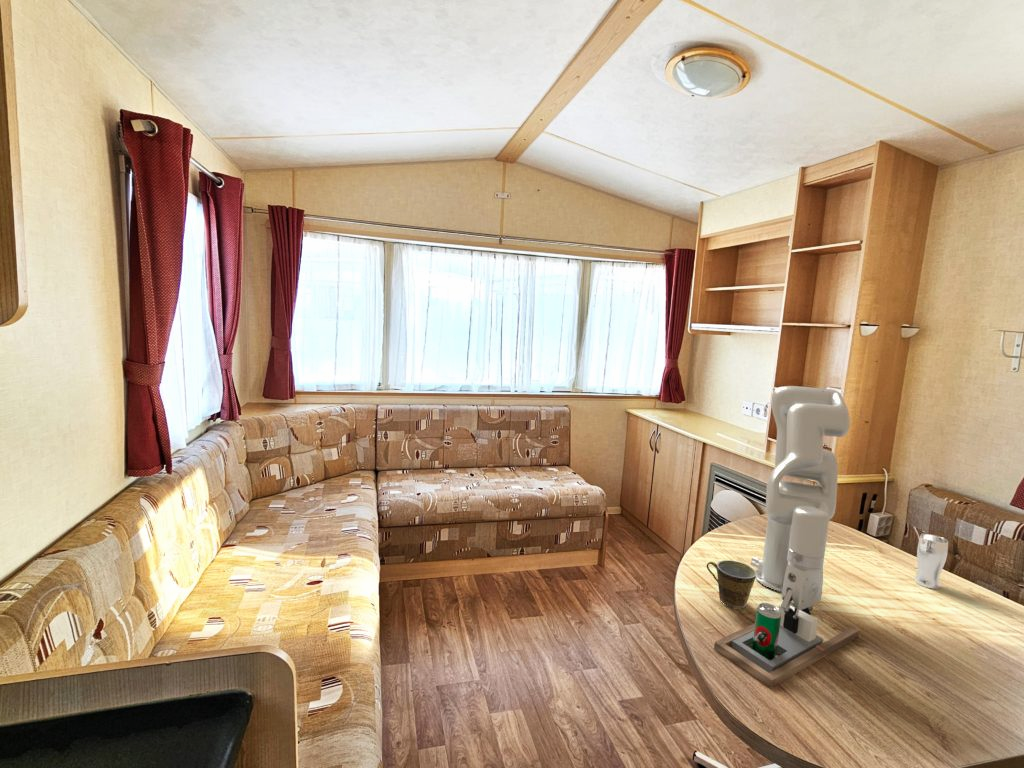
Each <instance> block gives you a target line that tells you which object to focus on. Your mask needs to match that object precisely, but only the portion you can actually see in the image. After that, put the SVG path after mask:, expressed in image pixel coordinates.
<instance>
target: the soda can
mask: <svg viewBox="0 0 1024 768" xmlns="http://www.w3.org/2000/svg"><path fill="white" fill-rule="evenodd" d="M778 608H779V607H777V606H776V605H774V604H771V603H767V602H761V603H759V604H758V606H757V607H756V613H755V618H754V620H755V621H754V623H755V628H754V636H753V645H751V646H752V647H751V649H753V650H754V651H756V652H757V653H759V654H760V655H762V656H764V657H765V658H767V659H768V660H770V661H771V660H772V659H774V658H776V657H777V654H778V653H777V645H778V637H779V629H780V621H781V614H780V610H779V609H778Z"/></svg>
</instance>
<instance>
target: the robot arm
mask: <svg viewBox="0 0 1024 768" xmlns="http://www.w3.org/2000/svg"><path fill="white" fill-rule="evenodd" d="M771 411H772V415H773V418H774V423H775V426H776V443H775V457H774V458H775V459H774V460H775V461H774V462H775V463H774V465H775V467H774V468H773V469H772V471H771V473H770V474H769V476H768V479H767V481H766V482H767V483H766V496H765V513H766V515H767V518H766V519H767V521H766V529H765V530H766V531H765V538H764V545H763V554H762V559H760V558H759V557H757V556H752V558H751V562H750V565H751V566H753V567H755V568H757V570H755V572H756V578H755V580H756V579H757V580H758V581H759V582H760V583H761V584H760V583H759V582H758V581H757V580H756V581H757V582H758V583H759V584H760V585H762V584H763V585H764V586H763V585H762V586H763V587H765V586H766V587H765V588H767V587H769V588H771V589H770V590H772V589H774V590H773V591H775V590H777V591H776V592H778V591H781V592H780V593H781V600H782V602H781V604H780V605H781V608H782V609H783V610H784V613H785V615H784V623H783V627H784V628H785V629H787V630H789V631H791V632H792V633H794V634H796V633H797V631H798V623H799V618H797V617H798V613H799V610H801V611H803V612H805V613H807V614H809V615H811V616H812V612H813V610H814V607H813V606H814V605H816V604H818V603H820V601H821V600H822V595H823V594H822V593H823V585H824V584H823V583H824V560H825V554H826V548H827V547H826V546H827V539H828V531H829V525H830V520H831V519H833V518H834V515H835V514H836V509H837V493H838V474H839V473H838V471H839V466H838V465H839V464H838V460H837V459H838V458H837V456H836V454H835V453H834V452H832V451H831V450H829V449H825V448H824V436H827V437H836V438H842V437H845V436H846V435H847V434H848V433H849V430H850V426H851V425H850V424H851V421H850V420H851V417H850V413H849V409H848V407H847V404H846V402H845V400H844V398H843V396H842V394H841V392H840V391H838V390H835V389H831V388H821V387H820V388H819V387H809V386H797V385H786V386H785V385H783V386H778V387H777V388H774V389H773V392H772V395H771ZM783 477H789V478H795V479H802V480H810V481H814V482H816V483H817V485H814V484H809V483H808V484H807V483H802V482H795V481H787V480H782V478H783ZM769 588H768V589H769ZM790 605H791V606H793V607H795V610H794V611H793V609H791V608H790Z"/></svg>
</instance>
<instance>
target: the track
mask: <svg viewBox="0 0 1024 768" xmlns="http://www.w3.org/2000/svg"><path fill="white" fill-rule="evenodd" d="M754 628H755V622H754V623H752V624H750V625H747V626H745V627H744V628H741V629H739V630H737V631H735V632H733V633H731V634H728V635H726V636H724V637H721V638H720V639H717V640H716V641H714V644H713V645H714V646H713V649H714V650H715V651H717V652H719V653H720V654H722V656H724V657H726V658H727V659H728V660H730V661H731V662H733V663H734V664H735V665H736V666H738V667H740V668H741V669H743V670H744V671H746V672H747V673H749V674H750V675H752V677H754V678H756V679H757V680H759V681H760V682H762V683H763V684H764V685H766V686H767V687H769V688H773V687H775V686H777V685H779V684H781V683H782V682H784V681H786V680H788V679H789V678H791V677H792V676H794V675H795V674H797V673H799V672H801V671H802V670H804V669H806V668H807V667H809V666H812V665H813V664H814V663H816V662H818V661H819V660H822V659H823V658H824V657H826V656H829V655H830V654H831V653H833V652H835V651H836V650H838V649H840V648H842V647H843V646H845V645H846V644H848V643H850V642H851V641H853V640H855V639H857V638H858V637H859V633H860V630H859V629H858V628H856V627H854V626H850V627H848V628H847V629H845V630H843V631H842V632H840V633H838V634H836V635H834V636H833V637H831V638H829V639H828V640H826V641H823V643H822V644H820V645H817V646H815V648H813V649H811V650H810V651H808V652H806V653H804V654H802V655H801V656H799V657H797V658H795V659H794V660H792V661H790V662H788V663H786V664H785V665H783V666H781V667H779V668H778V669H776V670H774V671H772V672H770V673H768V672H767V671H765V670H764V669H762V668H761V667H759V666H758V665H756V664H755V663H753V662H752V661H750V660H749V659H747V658H746V657H744V656H743V655H741V654H740V653H738V652H737V651H735V650H734V649H732V648H731V647H732V641H733V640H735V639H737V638H739V637H741V636H743V635H746V634H748V633H750V632H752V631H754Z"/></svg>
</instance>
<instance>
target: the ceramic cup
mask: <svg viewBox="0 0 1024 768" xmlns="http://www.w3.org/2000/svg"><path fill="white" fill-rule="evenodd" d="M709 565H712V566H713V567H714V568H715V569H716V574H717V577H716V575H715V574H714V573H713V572H712V570H711V569H710V568H709ZM706 569H707V570H708V572H709V573H710V574H711V576H712V577H713V578H714V580H715V581H716V582H717V584H718V595H719V596H718V598H720V599H719V600H720V602H721V601H722V602H723V603H724V604H726V605H728V606H730V607H729V608H731V607H732V608H731V609H733V608H740V609H739V610H743V609H744V608H745V607H746V605H747V604H748V600H749V599H750V598H749V597H750V595H751V591H752V588H753V586H754V583H755V580H756V570H755V569H754V568H753V567H752V566H750V565H748V564H746V563H744V562H740V561H736V560H728V559H727V560H720V561H718V562H717V563H716V562H713V561H709V562H708V563H707V564H706ZM722 602H721V603H722ZM723 603H722V604H723ZM724 604H723V605H724ZM726 605H725V606H726ZM728 606H727V607H728ZM742 608H743V609H742Z"/></svg>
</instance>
